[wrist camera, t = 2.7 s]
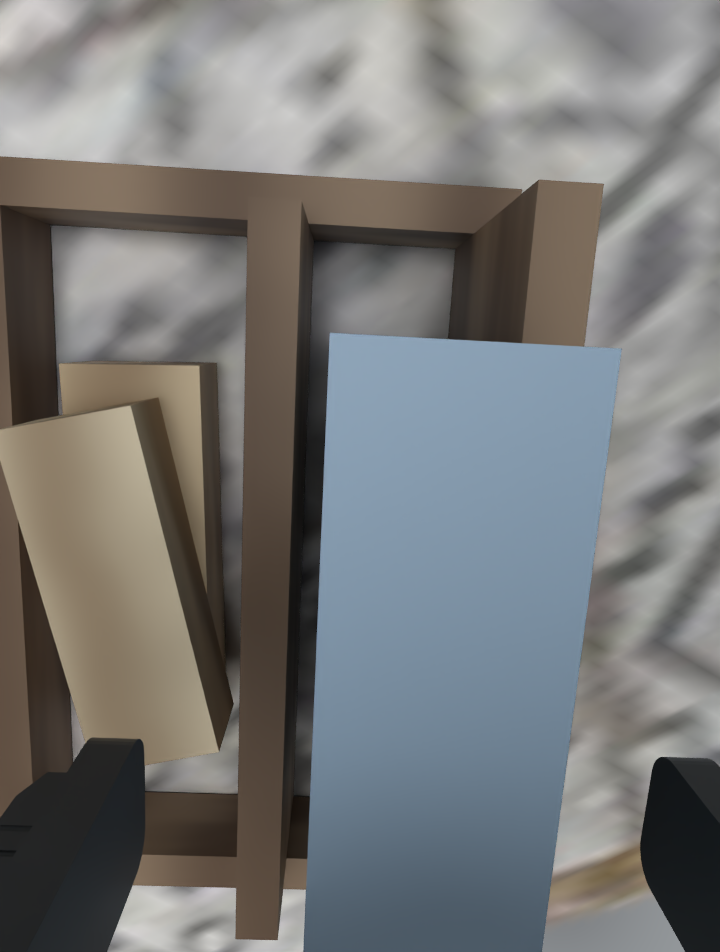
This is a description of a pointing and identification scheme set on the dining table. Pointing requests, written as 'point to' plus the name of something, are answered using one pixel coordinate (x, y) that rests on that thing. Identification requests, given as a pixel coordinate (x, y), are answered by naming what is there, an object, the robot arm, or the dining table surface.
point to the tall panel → (449, 635)
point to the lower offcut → (190, 436)
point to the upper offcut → (120, 577)
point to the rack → (251, 446)
